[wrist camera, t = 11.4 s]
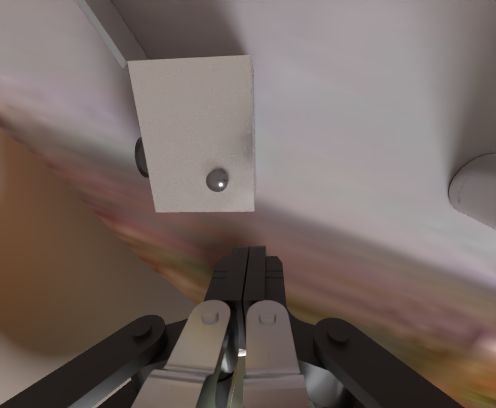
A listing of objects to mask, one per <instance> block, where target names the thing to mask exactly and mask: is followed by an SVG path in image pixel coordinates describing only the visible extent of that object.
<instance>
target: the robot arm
mask: <svg viewBox="0 0 496 408" xmlns="http://www.w3.org/2000/svg"><path fill="white" fill-rule="evenodd" d="M449 199H450V202H451V204H452V205H453V207H454V208H455V209H456V210H458V211H459V212H461V213H463V214H465V215H467V216H469V217H471V218H473V219H475V220H477V221H479V222H481V223H483V224H485V225H487V226H489V227H491V228H493V229H495V230H496V154H489V155H484V156H481V157H478V158H476V159H474V160H472V161H470V162H469V163H467V164H466V165H465V166H464V167H462V168H461V169H460V171H459V172H458V173H457V174H456V175H455V177H454V179H453V180H452V183H451V185H450V189H449ZM239 349H240V350H246V375H245V376H244V389H243V408H311V406H310V402H309V400H310V401H312V402H313V404H314V406H315V408H464V407H463V406H462V405H460V404H459V403H457V402H456V401H455V400H453V399H452V398H451V397H449V396H448V395H447V394H445V393H444V392H443V391H441V390H440V389H439V388H437V387H436V386H434V385H433V384H432V383H430V382H429V381H428V380H426V379H425V378H424V377H422V376H421V375H420V374H418V373H417V372H415V371H414V370H413V369H411V368H410V367H409V366H407V365H406V364H405V363H403V362H402V361H401V360H399V359H398V358H396V357H395V356H394V355H392V354H391V353H390V352H388V351H387V350H386V349H384V348H383V347H382V346H380V345H379V344H377V343H376V342H375V341H373V340H372V339H371V338H369V337H368V336H367V335H365V334H364V333H363V332H361V331H360V330H358V329H357V328H356V327H354V326H353V325H352V324H350V323H348V322H346V321H344V320H342V319H338V318H326V319H323V320H321V321H319V322H318V323H317V324H316V325H312V324H308V323H305V322H302V321H300V320H298V319H297V318H295V317H294V316H293V315H292V314H291V313H290V312H289V310H288V309H287V306H286V298H285V287H284V277H283V267H282V262H281V261H280V259H279V258H278V257H277V256H266V246H235V247H234V249H233V253H232V257H223V258H222V259H221V260H220V261H219V262H218V263H217V265H216V267H215V270H214V273H213V276H212V279H211V282H210V285H209V288H208V291H207V293H206V296H205V299H204V302H203V303H201V304H199V305H198V306H196V307H195V309H193V311H192V312H191V314H190V316H189V318H188V319H185V320H182V321H179V322H175V323H171V324H168V325H165V323H164V320H163V319H162V318H161V317H159V316H157V315H147V316H143V317H141V318H138V319H136V320H135V321H133V322H131V323H129V324H128V325H126V326H125V327H123V328H121V329H120V330H118V331H117V332H115V333H114V334H112V335H110V336H109V337H107V338H106V339H104V340H103V341H101V342H99V343H98V344H96V345H95V346H93V347H91V348H90V349H88V350H87V351H85V352H84V353H82V354H80V355H79V356H77V357H76V358H74V359H73V360H71V361H69V362H68V363H66V364H65V365H63V366H61V367H60V368H58V369H57V370H55V371H54V372H52V373H50V374H49V375H47V376H46V377H44V378H42V379H41V380H39V381H38V382H36V383H35V384H33V385H31V386H30V387H28V388H27V389H25V390H24V391H22V392H20V393H19V394H17V395H16V396H14V397H13V398H11V399H9V400H8V401H6V402H5V403H3V404H1V405H0V408H92V407H93V406H94V405H96V404H97V403H98V402H99V401H101V400H102V399H103V398H104V397H106V396H107V395H108V394H109V393H111V392H112V391H113V390H115V389H116V388H117V387H119V386H120V385H121V384H122V383H124V382H125V381H126V380H127V379H128V378H130V377H131V381H130V382H128V383H127V384H126V385H125V386H123V387H122V388H121V389H119V390H118V391H117V392H116V393H115V394H113V395H112V396H111V397H109V398H108V399H107V400H106V401H104V402H103V403H102V404H101V405H99V406H98V407H97V408H230V406H231V400H232V395H233V390H234V385H235V379H236V375H237V361H238V353H239Z"/></svg>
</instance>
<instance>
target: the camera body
mask: <svg viewBox="0 0 496 408" xmlns="http://www.w3.org/2000/svg"><path fill="white" fill-rule="evenodd" d="M127 63H128V68H129V73H130V78H131V84H132V89H133V94H134V99H135V105H136V110H137V115H138V120H139V126H140V131H141V136H142V137H140V138H139V139H138V140H137V142H136V146H135V160H136V164H137V167H138V170H139V172H140V173H141V174H142V175H143V176H144V177H146V178H150V184H151V189H152V194H153V199H154V205H155V210H156V212H244V211H254V208H255V195H256V166H255V119H254V71H253V66H252V61H251V56H250V55H236V56H216V57H197V58H177V59H157V60H138V61H127Z"/></svg>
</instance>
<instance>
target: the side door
mask: <svg viewBox="0 0 496 408" xmlns="http://www.w3.org/2000/svg"><path fill="white" fill-rule="evenodd" d="M75 1H76V2H77V4H78V5H79V7H80V8H81V10H82V11H83V13H84V14H85V15H86V17H87V18H88V20H89V21H90V23H91V24H92V26H93V27H94V28H95V30H96V31H97V33H98V34H99V36H100V37H101V39H102V40H103V41H104V43H105V44H106V46H107V47H108V49H109V50H110V52H111V53H112V54H113V56H114V57H115V59H116V60H117V62H118V63H119V65H120V66H121V67H122V68H123V69H126V70H129V68H128V63H127V61H138V60H149V59H148V57H147V55H146V54H145V52H144V51H143V49H142V48H141V46H140V45H139V43H138V42H137V40H136V39H135V37H134V35H133V34H132V32H131V31H130V29H129V28H128V26H127V25H126V23H125V22H124V20H123V19H122V17H121V16H120V14H119V12H118V11H117V9H116V8H115V6H114V5H113V3H112V2H111V0H75Z"/></svg>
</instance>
